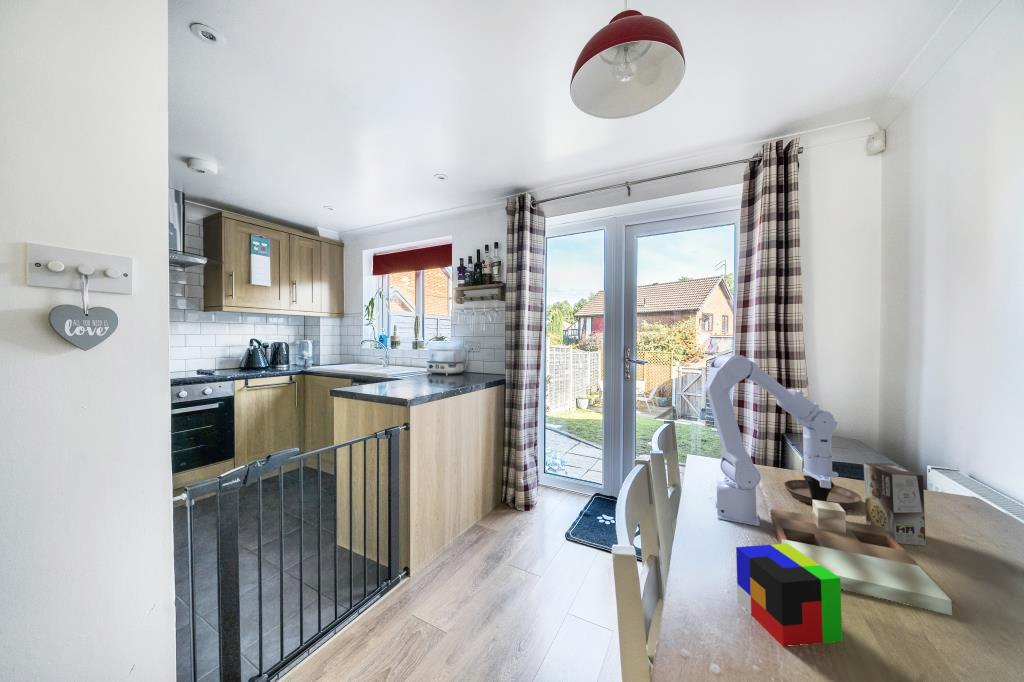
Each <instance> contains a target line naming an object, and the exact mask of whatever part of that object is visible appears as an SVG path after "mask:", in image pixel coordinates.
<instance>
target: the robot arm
mask: <svg viewBox="0 0 1024 682" xmlns="http://www.w3.org/2000/svg"><path fill="white" fill-rule="evenodd" d="M708 368H709V369H708V370H709V371H708V374H707V379H706V382H705V385H704V388H705V392H706V396H707V399H708V402H709V403H708V404H709V406H710V410H711V413H712V417H713V420H714V424H715V427H716V431H717V434H718V437H719V441H720V445H721V448H722V450H721V451H720V453H719V454H720V457H721V458H720V464H719V465H720V469H721V472H722V473H723V474H724V480H717V481H716V500H715V509H716V510H717V511H716V513H717V519H719V520H724V521H730V522H734V523H738V524H739V523H741V524H745V525H751V526H755V527H756V526H757V527H760V526H761V524H760V520H759V516H758V515H759V514H758V512H757V486H759V484H760V482H761V477H762V476H761V473H760V471H759V469H758V468H757V467H755V465H754V462H753V460H752V458H751V456H750V455H749V453H748V451H747V450H746V448H745V444H744V442H743V438H742V435H741V431H740V427H739V424H738V420H737V416H736V413H735V411H734V406H733V402H732V399H731V396H730V391H731V390H732V388H733V387H734V386H735V385H736V384H738V383H740V382H741V381H743V380H744V379H746V380H750V381H751V382H753V383H755V384H756V385H757V386H759V387H760V388H762V389H763V390H765V391H766V392H767V393H768V394H771V395H772V396H773V397H775V400H776V401H775V402H776V405H778V406H779V407H780V408H781V409H783V410H784V411H785V412H787V413H788V414H789V415H790V416H792V417H794V418H795V419H796V421H797V423H798V424H799V425H800V426H802V443H803V468H802V472H803V473H804V475H803V476H802V477H803V480H806V482H807V485H808V487H809V490H810V494H811V498H812V500H819V501H827V497H828V495H829V492H830V491H831V489H832V488H833V487H834V485H835V484H834V482H833V478H839V473H838V472H837V471H833V453H832V452H833V450H832V449H833V448H832V438H833V432H834V431H835V430H836V428H837V426H838V421H836V420H835V418H834V415H833V414H832V413H831V412H829V411H827V410H824V409H820V405H819V403H816V402H812V401H811V400H810V399H808V398H807V397H806V396H804V395H805V394H804V392H803V391H802V390H799V389H794V388H786V387H784V386H783V385H782V384H781V383H779V382H778V381H777V380H776V379H774V377H773V376H771V375H770V374H768V373H767V372H766V371H765V370H763V369H762V368H761V367H760V366H759V364H757V363H755V362H754V361H751V360H749V358H748V357H746V356H744V355H742V354H734V355H733V354H726V353H722V354H718V355H717V356H716V357H714V359H713V360H712V361H711V362H710V363H709V365H708Z"/></svg>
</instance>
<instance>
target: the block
mask: <svg viewBox="0 0 1024 682" xmlns="http://www.w3.org/2000/svg"><path fill="white" fill-rule="evenodd" d="M812 502H813V505H812V516H813V520H814V522H815V524H816V525H817V527H818V529H824V530H829V531H835V532H841V533H846V521H847V519H846V511H845V509H843V508H842V507H841V506H840V505H839V503H833V502H826V501H819V500H812Z"/></svg>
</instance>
